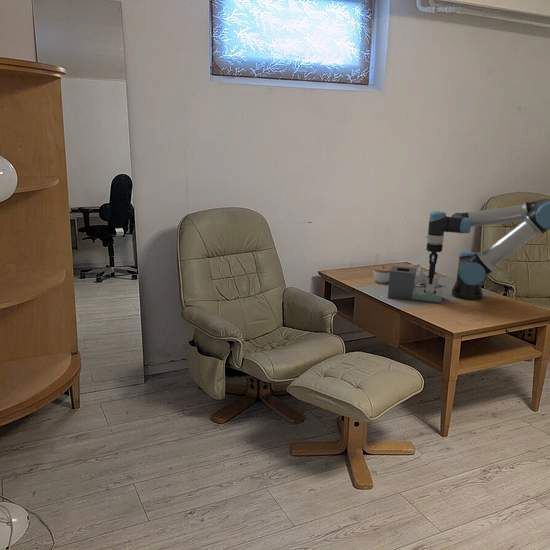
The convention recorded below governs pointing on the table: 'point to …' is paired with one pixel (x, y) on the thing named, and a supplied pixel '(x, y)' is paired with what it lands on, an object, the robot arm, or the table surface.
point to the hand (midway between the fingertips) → (430, 288)
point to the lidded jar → (381, 273)
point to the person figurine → (423, 276)
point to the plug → (433, 286)
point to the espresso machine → (409, 287)
